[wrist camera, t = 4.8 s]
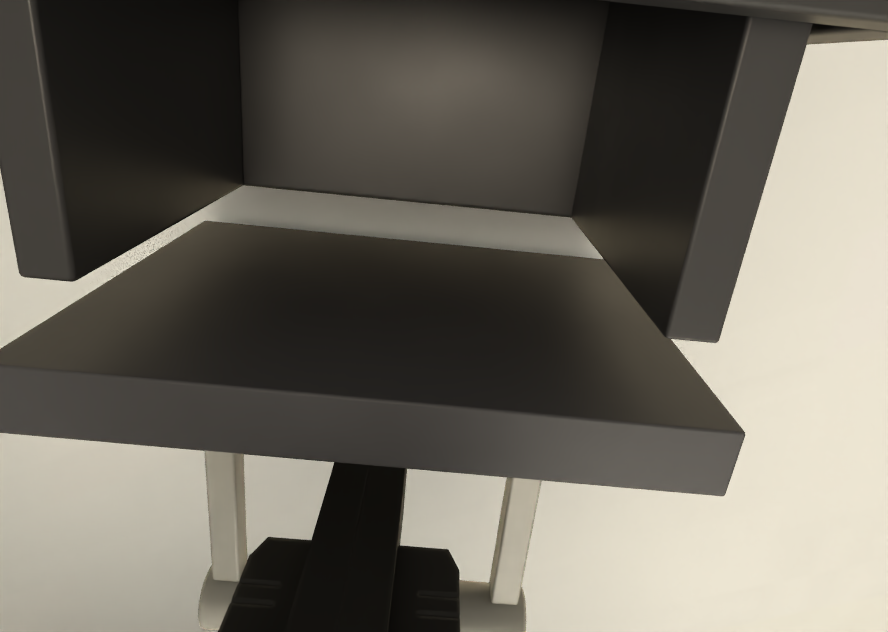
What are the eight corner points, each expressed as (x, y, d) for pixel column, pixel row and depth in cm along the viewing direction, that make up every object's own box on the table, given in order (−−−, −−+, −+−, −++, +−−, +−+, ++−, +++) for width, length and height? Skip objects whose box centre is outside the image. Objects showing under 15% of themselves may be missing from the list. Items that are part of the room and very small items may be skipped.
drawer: (563, 473, 20) (639, 752, 12) (216, 442, 20) (51, 707, 12) (740, -376, 12) (1324, -1269, 4) (167, -446, 12) (-456, -1564, 4)
